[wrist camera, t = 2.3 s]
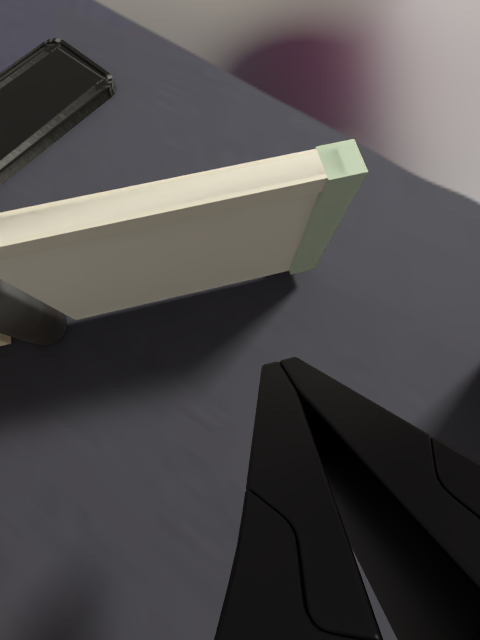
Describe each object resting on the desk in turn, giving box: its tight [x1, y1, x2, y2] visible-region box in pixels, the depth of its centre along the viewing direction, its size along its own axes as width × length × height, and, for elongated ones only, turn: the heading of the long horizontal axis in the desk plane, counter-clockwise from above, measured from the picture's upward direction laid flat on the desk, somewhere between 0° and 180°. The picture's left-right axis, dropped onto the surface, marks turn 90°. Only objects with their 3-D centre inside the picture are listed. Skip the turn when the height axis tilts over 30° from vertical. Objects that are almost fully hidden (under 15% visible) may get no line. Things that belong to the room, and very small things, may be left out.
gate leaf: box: [0, 139, 368, 320], centre depth 16 cm, size 15×2×9 cm, turn 104°
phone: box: [0, 38, 116, 185], centre depth 25 cm, size 8×1×15 cm
